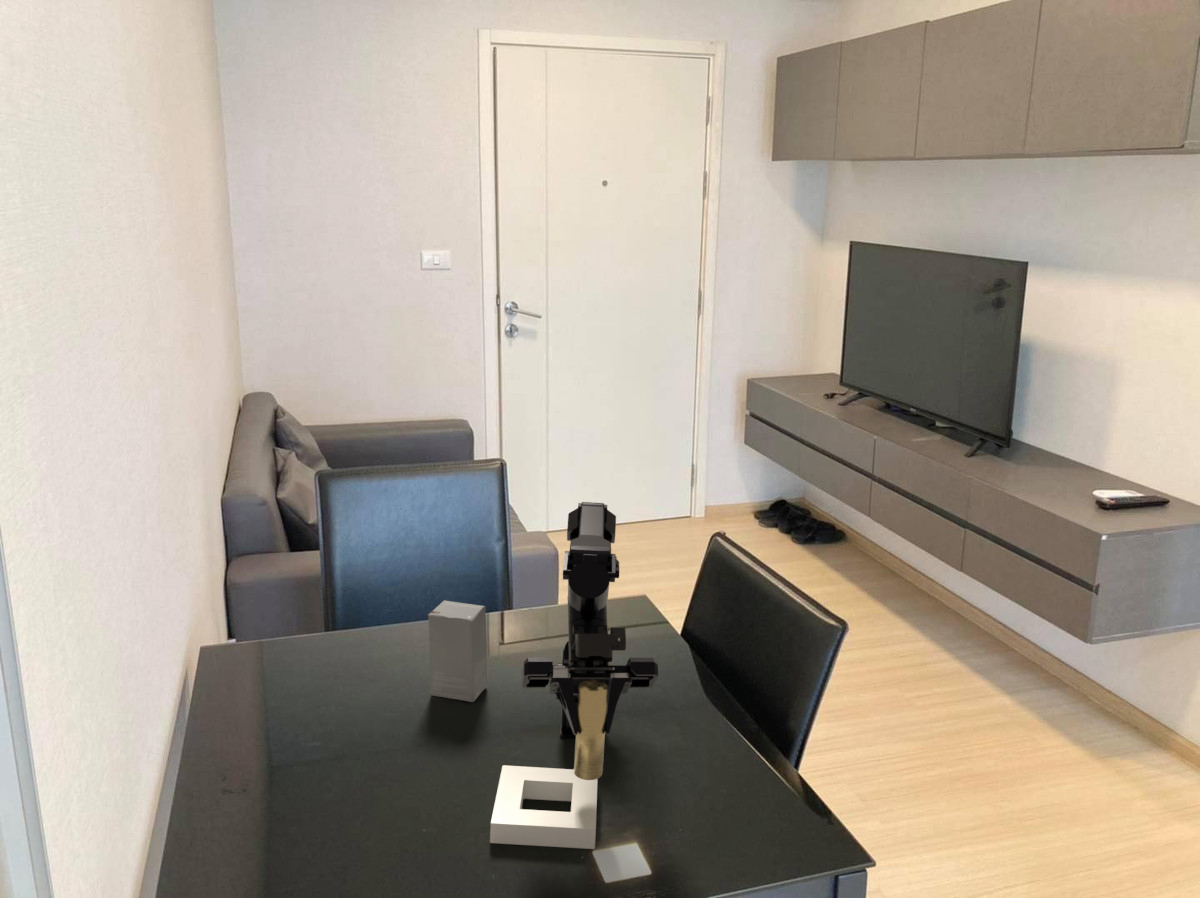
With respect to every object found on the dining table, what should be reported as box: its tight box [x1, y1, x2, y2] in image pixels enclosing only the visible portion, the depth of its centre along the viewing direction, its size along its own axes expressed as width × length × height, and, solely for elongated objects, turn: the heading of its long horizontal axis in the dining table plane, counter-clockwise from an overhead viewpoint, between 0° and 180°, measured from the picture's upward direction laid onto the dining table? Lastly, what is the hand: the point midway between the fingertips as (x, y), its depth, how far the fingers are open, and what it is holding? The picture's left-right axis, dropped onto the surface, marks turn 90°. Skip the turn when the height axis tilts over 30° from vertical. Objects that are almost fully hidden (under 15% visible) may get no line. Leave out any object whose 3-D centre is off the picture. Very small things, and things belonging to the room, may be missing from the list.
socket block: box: [489, 764, 598, 850], centre depth 136 cm, size 14×14×3 cm
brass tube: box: [573, 680, 608, 780], centre depth 134 cm, size 4×4×13 cm
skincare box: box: [427, 600, 488, 703], centre depth 168 cm, size 8×7×16 cm
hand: (591, 734), depth 132 cm, fingers closed on brass tube, 4 cm apart
